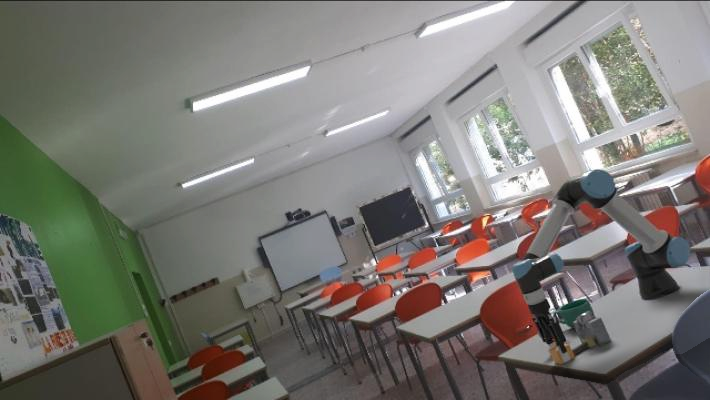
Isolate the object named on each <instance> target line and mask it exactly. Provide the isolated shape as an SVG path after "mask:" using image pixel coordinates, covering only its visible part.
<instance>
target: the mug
mask: <svg viewBox="0 0 710 400" xmlns="http://www.w3.org/2000/svg"><path fill="white" fill-rule="evenodd" d="M587 311H590V312H592V313H593V314H594V315H595V312H594V310H593V307H592V305H591V302H590V301H589V299H588V298H581V299H576V300H573V301H569V302H567V303H566V304H564V305H561V307H560V308H558V309H557V310H554V311H553V315H552V316H553V317H554V316H557V314H559V315H560V316H561V317H562V319H561V318H559V320H560V323H559V324H562V325H566V326H567V327H569V328H571V329H575V327H574V325H573V323H572V322H574V321H576V318H577V317H578V316H580V315H582V314H583V313H585V312H587Z"/></svg>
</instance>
